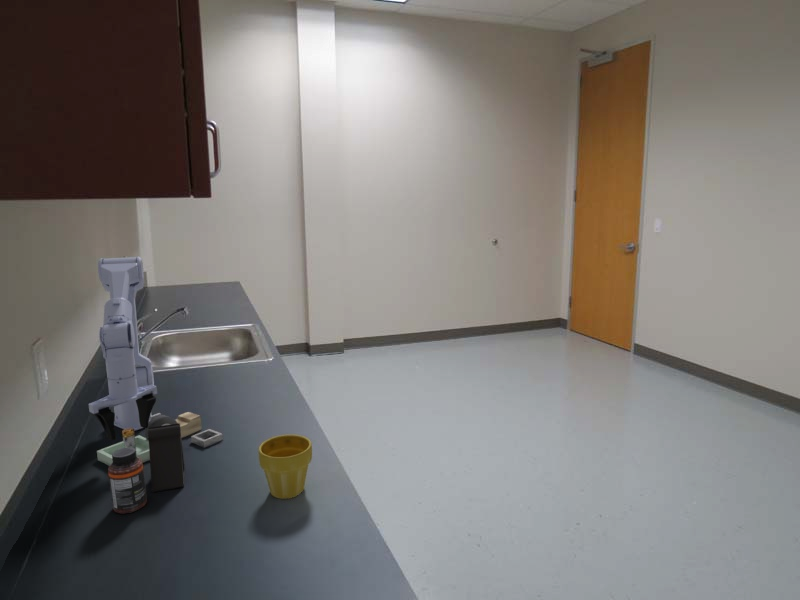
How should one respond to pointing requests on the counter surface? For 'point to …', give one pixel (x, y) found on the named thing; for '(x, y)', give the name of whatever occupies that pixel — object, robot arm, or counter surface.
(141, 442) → the tray
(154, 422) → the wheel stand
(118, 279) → the robot arm
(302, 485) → the plant pot
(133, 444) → the pin
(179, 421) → the block
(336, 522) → the counter surface
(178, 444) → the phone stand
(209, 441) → the pin socket
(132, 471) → the supplement bottle
